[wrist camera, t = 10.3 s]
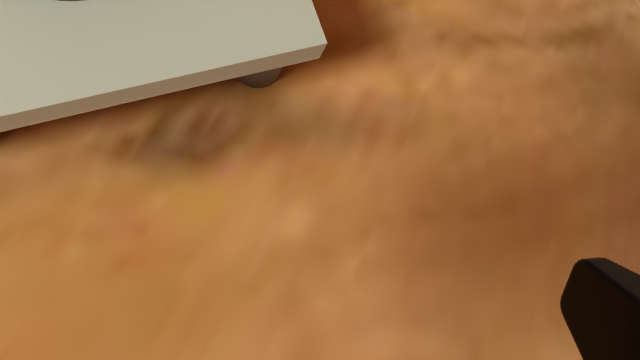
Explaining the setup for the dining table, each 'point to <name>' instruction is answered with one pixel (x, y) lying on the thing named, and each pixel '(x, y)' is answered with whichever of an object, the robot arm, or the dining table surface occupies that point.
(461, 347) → the dining table surface
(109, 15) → the shelf
